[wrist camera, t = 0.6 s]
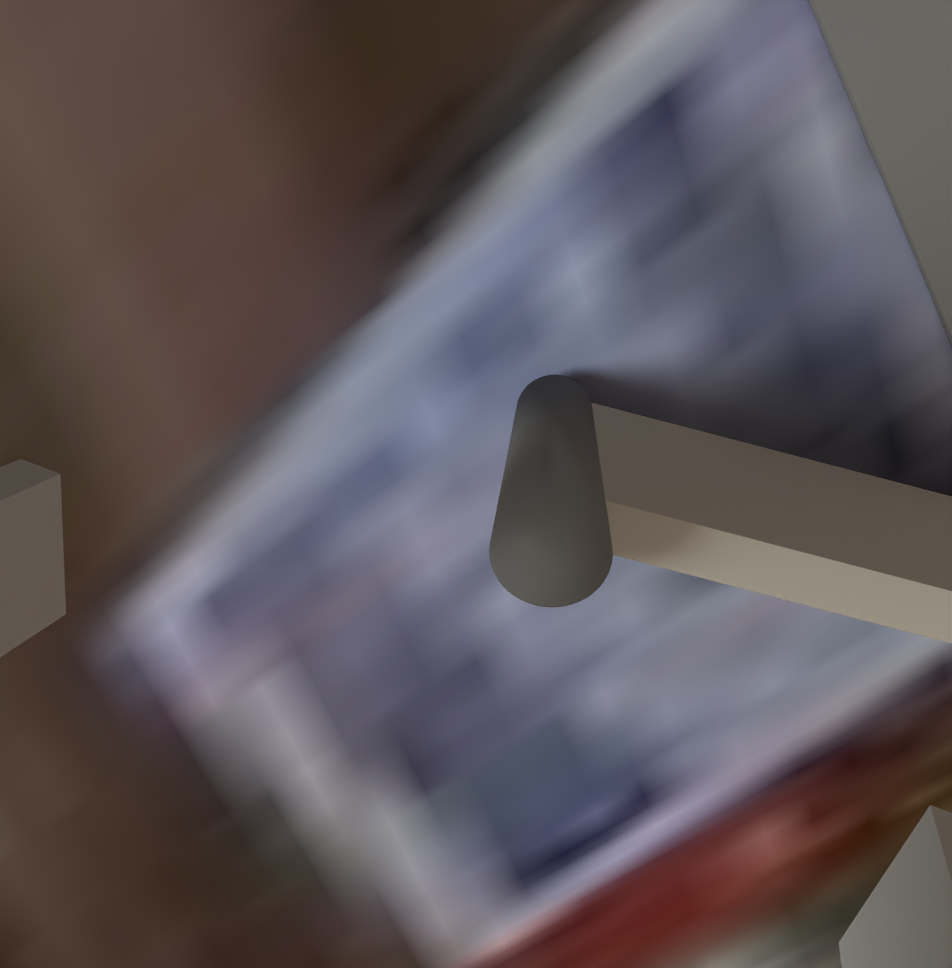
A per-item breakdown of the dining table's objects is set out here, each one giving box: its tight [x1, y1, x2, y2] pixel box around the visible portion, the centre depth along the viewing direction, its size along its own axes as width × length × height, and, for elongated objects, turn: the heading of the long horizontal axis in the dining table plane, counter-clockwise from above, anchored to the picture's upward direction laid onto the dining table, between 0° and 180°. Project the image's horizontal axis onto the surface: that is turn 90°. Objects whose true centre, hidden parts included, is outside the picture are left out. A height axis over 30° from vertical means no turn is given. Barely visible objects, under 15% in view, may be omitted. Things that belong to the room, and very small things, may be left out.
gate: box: [489, 375, 952, 643], centre depth 20 cm, size 17×2×10 cm, turn 77°
